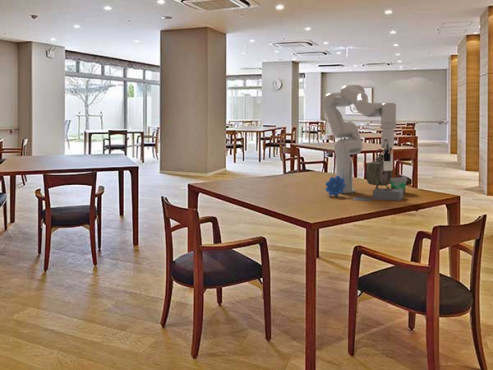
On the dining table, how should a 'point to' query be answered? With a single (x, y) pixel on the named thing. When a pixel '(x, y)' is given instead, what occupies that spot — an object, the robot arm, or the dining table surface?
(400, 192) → the grey rectangular box
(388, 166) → the plug
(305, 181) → the dining table surface
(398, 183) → the food container
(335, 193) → the blue gear
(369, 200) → the mat
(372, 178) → the tabletop clock
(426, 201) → the dining table surface
